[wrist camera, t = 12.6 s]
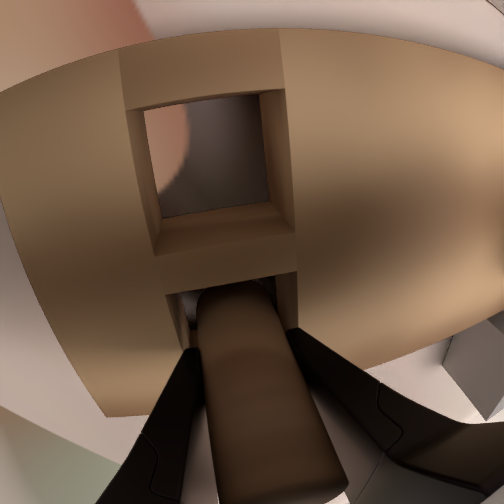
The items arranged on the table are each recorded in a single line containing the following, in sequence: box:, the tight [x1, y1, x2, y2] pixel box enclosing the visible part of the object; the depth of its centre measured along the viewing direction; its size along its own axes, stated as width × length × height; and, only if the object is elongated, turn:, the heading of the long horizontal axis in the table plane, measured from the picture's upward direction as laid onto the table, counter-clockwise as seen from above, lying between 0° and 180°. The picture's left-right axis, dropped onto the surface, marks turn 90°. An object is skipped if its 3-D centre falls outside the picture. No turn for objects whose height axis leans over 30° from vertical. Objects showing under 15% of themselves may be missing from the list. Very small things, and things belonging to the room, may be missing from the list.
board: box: [0, 28, 504, 417], centre depth 9 cm, size 12×26×8 cm, turn 95°
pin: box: [196, 280, 349, 504], centre depth 8 cm, size 3×3×7 cm
